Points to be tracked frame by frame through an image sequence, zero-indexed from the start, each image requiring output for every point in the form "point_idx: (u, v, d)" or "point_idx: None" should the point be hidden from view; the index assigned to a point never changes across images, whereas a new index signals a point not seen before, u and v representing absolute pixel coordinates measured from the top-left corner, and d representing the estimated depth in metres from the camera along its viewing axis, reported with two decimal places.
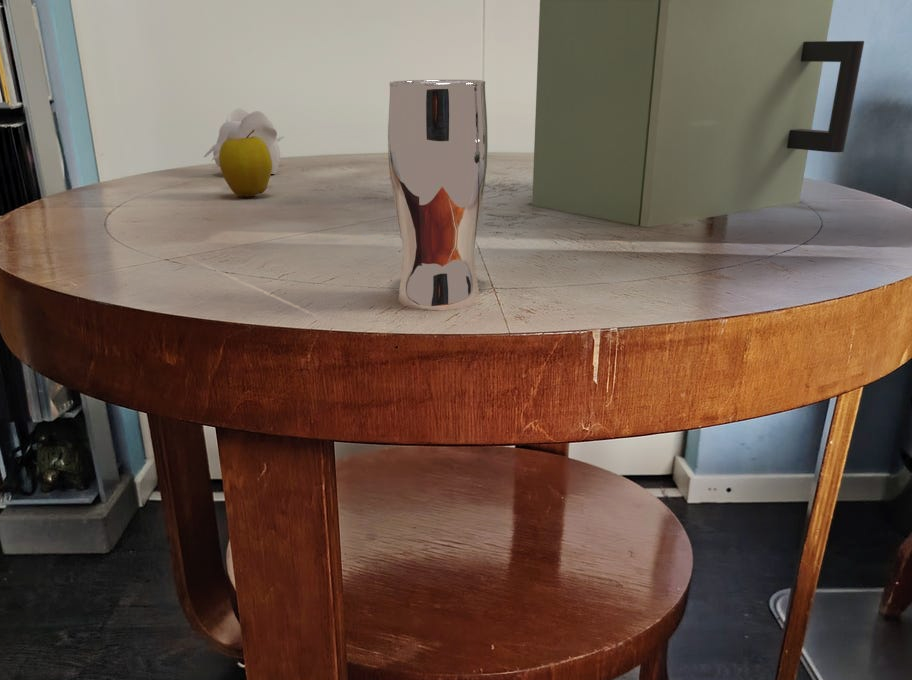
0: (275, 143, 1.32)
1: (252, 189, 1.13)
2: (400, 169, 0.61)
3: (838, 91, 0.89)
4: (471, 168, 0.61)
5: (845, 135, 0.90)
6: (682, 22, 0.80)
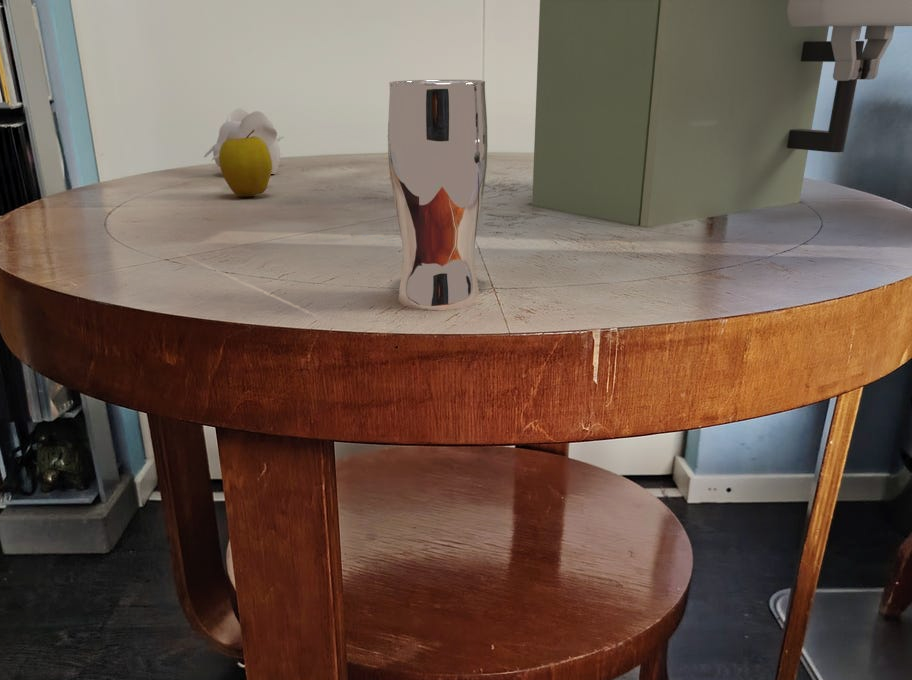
0: (275, 143, 1.32)
1: (252, 189, 1.13)
2: (400, 169, 0.61)
3: (838, 91, 0.89)
4: (471, 168, 0.61)
5: (845, 135, 0.90)
6: (682, 22, 0.80)
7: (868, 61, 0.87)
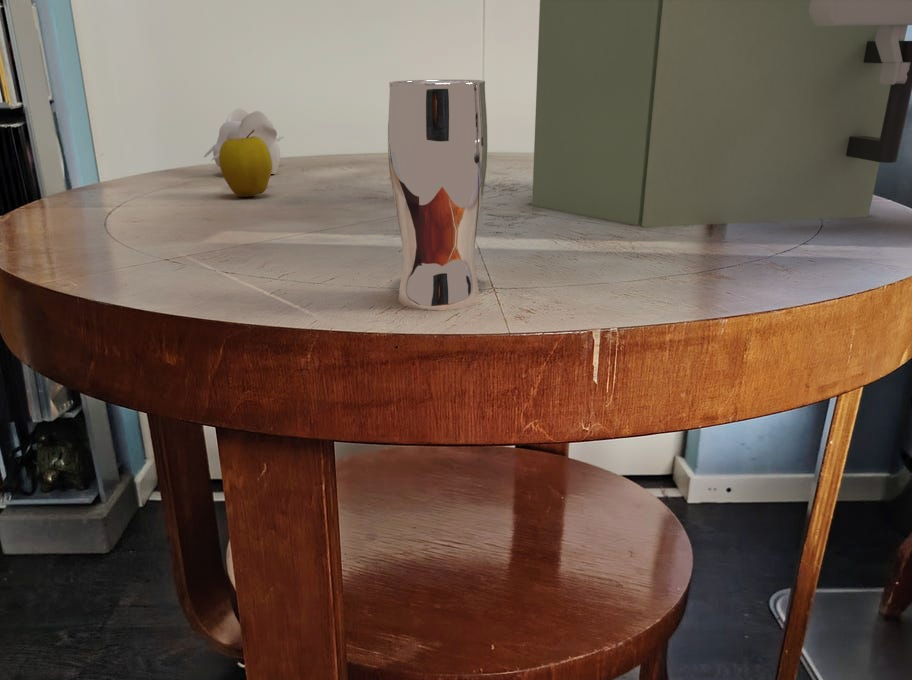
0: (275, 143, 1.32)
1: (252, 189, 1.13)
2: (400, 169, 0.61)
3: (889, 96, 0.81)
4: (471, 168, 0.61)
5: (896, 144, 0.82)
6: (686, 22, 0.80)
7: None
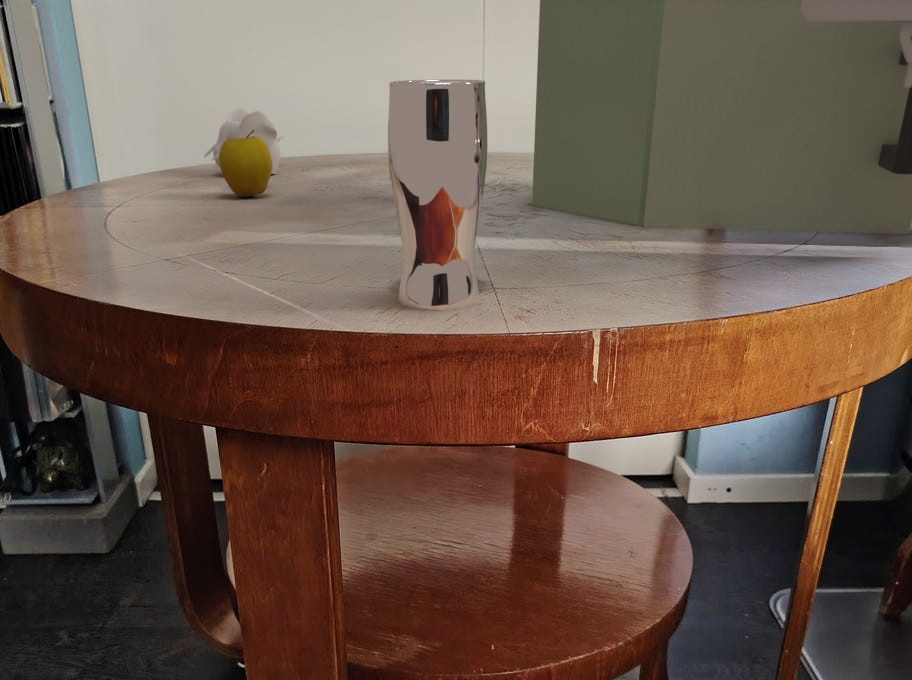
0: (275, 143, 1.32)
1: (252, 189, 1.13)
2: (400, 169, 0.61)
3: (907, 101, 0.74)
4: (471, 168, 0.61)
5: (911, 154, 0.75)
6: (686, 22, 0.79)
7: None
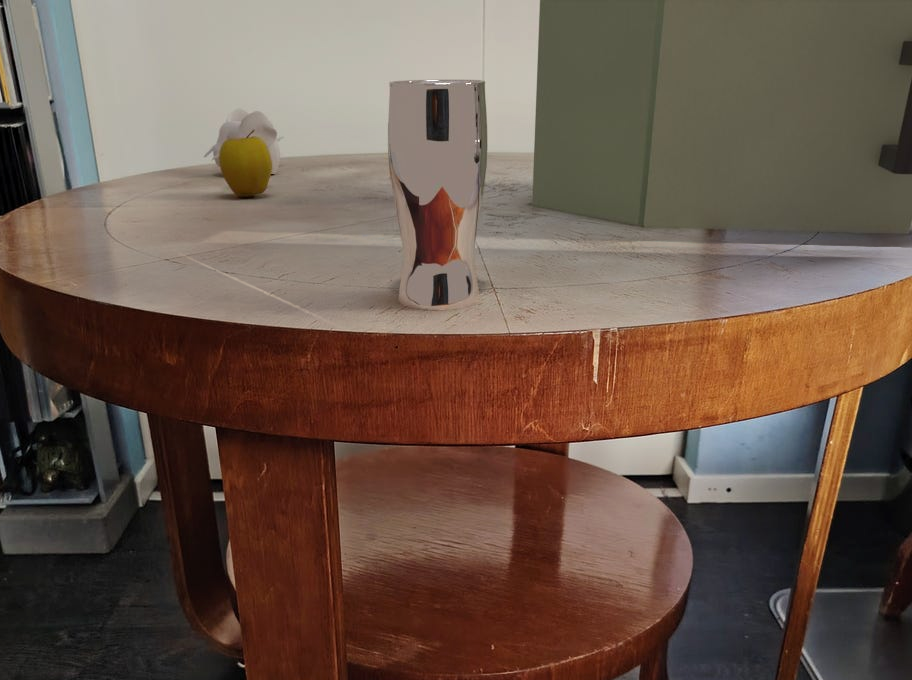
0: (275, 143, 1.32)
1: (252, 189, 1.13)
2: (400, 169, 0.61)
3: (907, 101, 0.74)
4: (471, 168, 0.61)
5: (911, 154, 0.75)
6: (686, 22, 0.79)
7: None
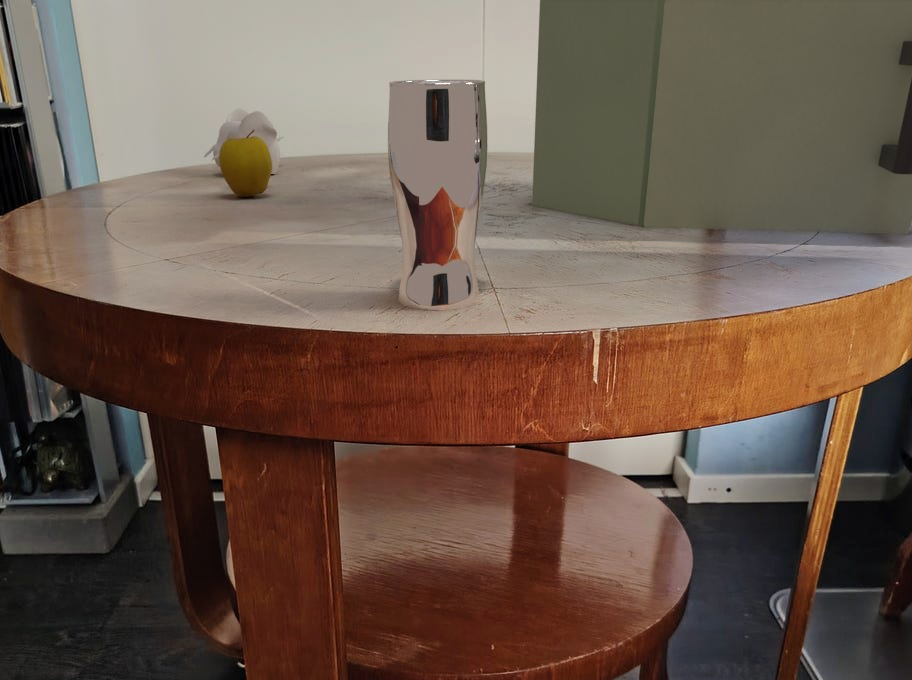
0: (275, 143, 1.32)
1: (252, 189, 1.13)
2: (400, 169, 0.61)
3: (907, 101, 0.74)
4: (471, 168, 0.61)
5: (911, 154, 0.75)
6: (686, 22, 0.79)
7: None
